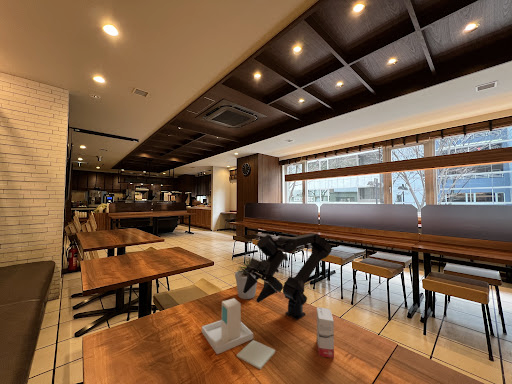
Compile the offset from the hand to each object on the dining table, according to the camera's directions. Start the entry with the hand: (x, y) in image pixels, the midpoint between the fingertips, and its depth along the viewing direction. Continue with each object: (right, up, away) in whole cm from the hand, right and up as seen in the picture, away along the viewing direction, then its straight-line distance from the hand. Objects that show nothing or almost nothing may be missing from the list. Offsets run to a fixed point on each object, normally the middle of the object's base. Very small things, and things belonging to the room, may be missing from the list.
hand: (250, 297), depth 81 cm
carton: (-7, -13, -5) cm, 15 cm away
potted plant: (-2, -15, +31) cm, 35 cm away
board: (+2, -13, -12) cm, 18 cm away
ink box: (+26, -14, -8) cm, 30 cm away
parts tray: (-9, -13, -3) cm, 16 cm away
